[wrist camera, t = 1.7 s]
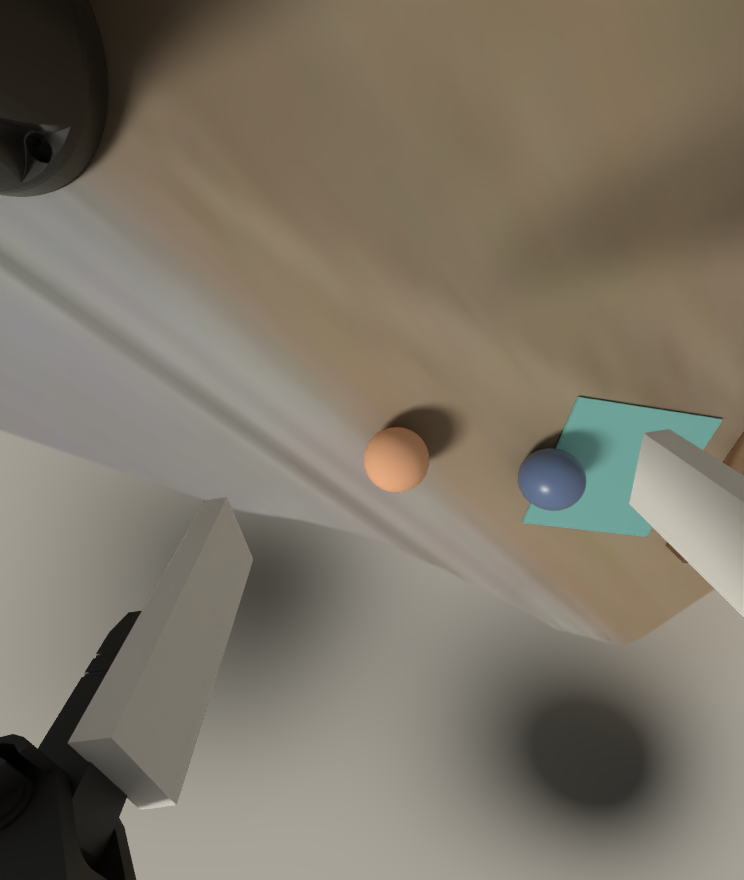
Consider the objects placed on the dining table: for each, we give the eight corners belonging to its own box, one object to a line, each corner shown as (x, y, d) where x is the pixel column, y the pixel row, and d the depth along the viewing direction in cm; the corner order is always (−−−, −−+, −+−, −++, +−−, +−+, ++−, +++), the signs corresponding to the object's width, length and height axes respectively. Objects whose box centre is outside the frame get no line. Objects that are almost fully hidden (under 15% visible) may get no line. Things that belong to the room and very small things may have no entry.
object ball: (501, 483, 37) (522, 520, 33) (520, 433, 35) (547, 465, 30) (553, 490, 38) (582, 527, 33) (576, 441, 35) (611, 474, 31)
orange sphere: (359, 465, 36) (359, 501, 31) (368, 412, 33) (370, 442, 29) (416, 472, 36) (425, 509, 32) (430, 421, 34) (442, 451, 29)
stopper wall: (665, 545, 42) (682, 562, 40) (756, 413, 35) (783, 425, 33) (681, 547, 42) (699, 564, 40) (776, 416, 35) (804, 428, 33)
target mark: (522, 521, 40) (523, 522, 40) (578, 396, 33) (579, 397, 33) (645, 535, 41) (646, 536, 41) (720, 418, 35) (722, 419, 35)
